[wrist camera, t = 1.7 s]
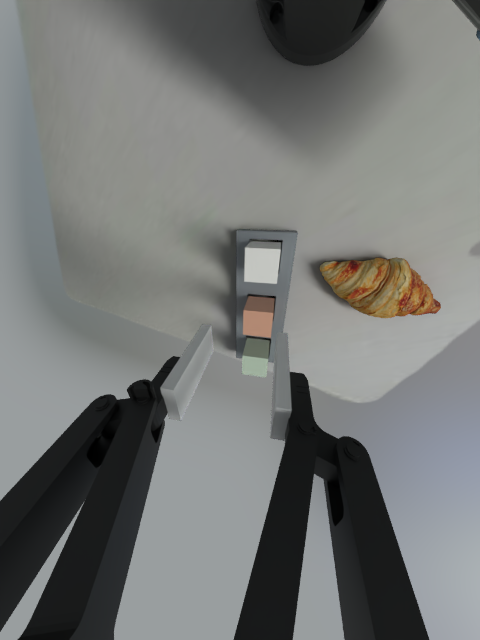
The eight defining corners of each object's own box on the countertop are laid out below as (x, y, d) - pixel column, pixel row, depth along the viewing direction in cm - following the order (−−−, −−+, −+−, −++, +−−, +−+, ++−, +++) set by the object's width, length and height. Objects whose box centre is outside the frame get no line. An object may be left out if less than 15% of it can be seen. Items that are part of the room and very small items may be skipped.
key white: (250, 241, 32) (245, 247, 27) (280, 242, 32) (280, 249, 27) (249, 270, 35) (244, 281, 30) (277, 272, 34) (276, 283, 29)
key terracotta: (248, 296, 38) (243, 310, 32) (274, 298, 37) (273, 313, 32) (247, 318, 40) (242, 334, 35) (272, 320, 39) (270, 337, 34)
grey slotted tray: (239, 229, 34) (236, 230, 32) (296, 231, 33) (297, 232, 31) (238, 351, 49) (236, 357, 47) (278, 356, 47) (278, 363, 45)
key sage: (247, 337, 43) (242, 355, 38) (269, 340, 42) (268, 359, 37) (246, 355, 45) (242, 374, 40) (267, 357, 44) (266, 377, 39)
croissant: (309, 273, 40) (303, 303, 36) (338, 229, 31) (335, 263, 27) (409, 307, 39) (415, 341, 35) (467, 273, 30) (483, 313, 26)
